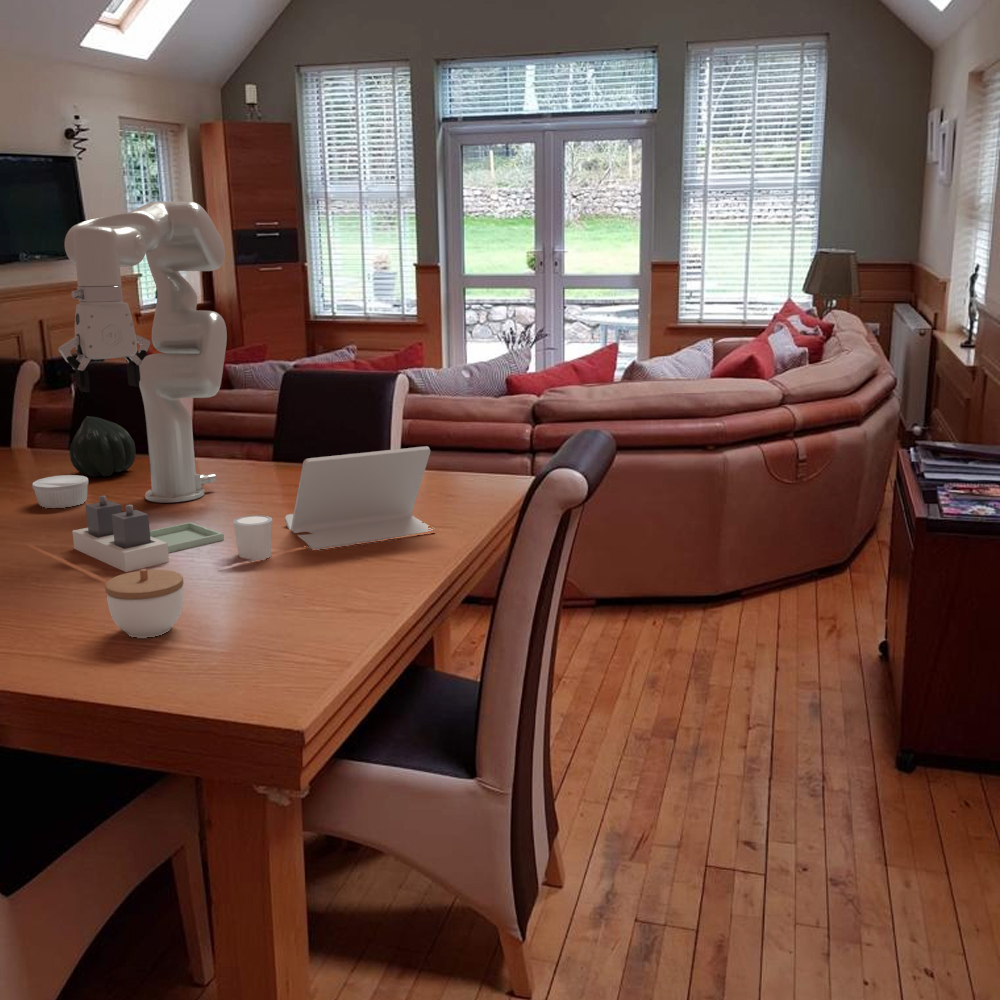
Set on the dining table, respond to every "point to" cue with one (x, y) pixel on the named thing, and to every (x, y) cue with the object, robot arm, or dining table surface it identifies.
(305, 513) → the tablet stand
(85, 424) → the squash
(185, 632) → the dining table surface
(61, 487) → the ramekin
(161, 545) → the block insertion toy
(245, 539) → the white cup
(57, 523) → the dining table surface
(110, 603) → the lidded jar
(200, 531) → the tray
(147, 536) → the plug
